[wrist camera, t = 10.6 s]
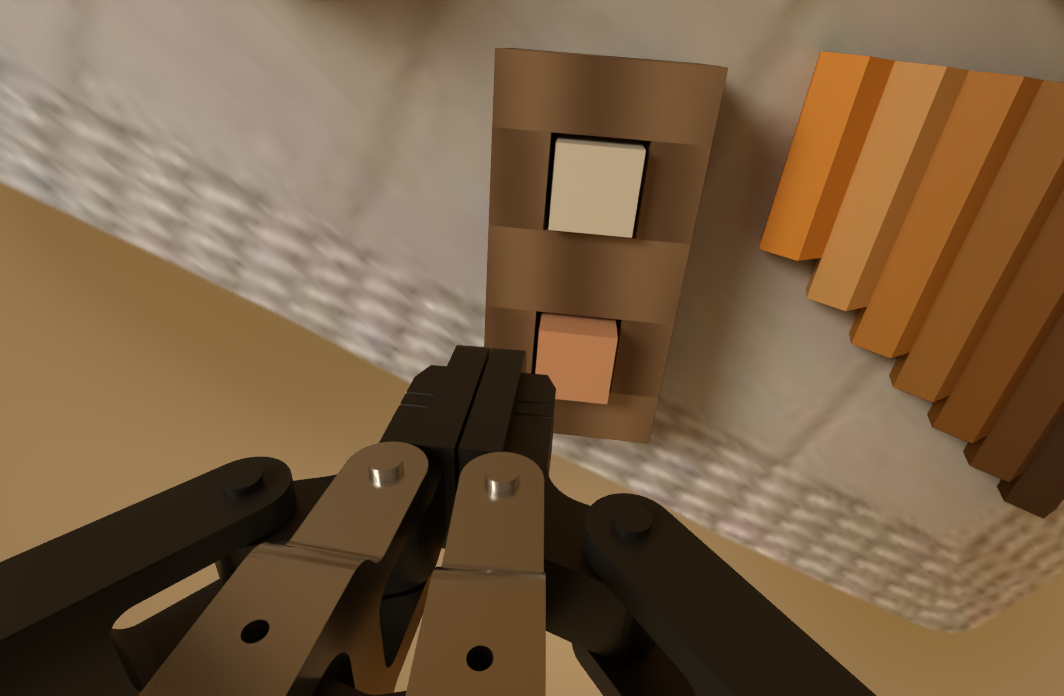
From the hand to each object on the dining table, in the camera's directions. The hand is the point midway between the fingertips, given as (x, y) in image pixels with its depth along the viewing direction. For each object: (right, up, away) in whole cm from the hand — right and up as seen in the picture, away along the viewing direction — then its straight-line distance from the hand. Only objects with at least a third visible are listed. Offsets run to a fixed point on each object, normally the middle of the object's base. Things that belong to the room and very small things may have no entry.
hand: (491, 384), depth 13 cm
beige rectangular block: (+4, +11, +19) cm, 22 cm away
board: (+4, +7, +22) cm, 23 cm away
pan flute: (+26, +4, +23) cm, 35 cm away
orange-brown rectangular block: (+4, +2, +22) cm, 22 cm away
